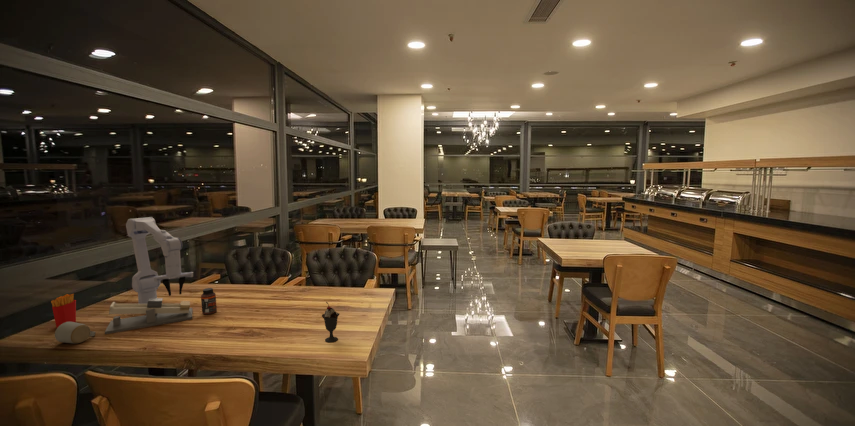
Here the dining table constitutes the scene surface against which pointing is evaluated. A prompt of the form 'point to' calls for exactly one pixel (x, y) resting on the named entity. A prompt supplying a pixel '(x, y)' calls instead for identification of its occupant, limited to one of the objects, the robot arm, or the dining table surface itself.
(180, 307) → the beam
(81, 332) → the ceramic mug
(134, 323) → the stand
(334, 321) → the sundae
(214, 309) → the supplement bottle
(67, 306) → the french fries
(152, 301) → the rider
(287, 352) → the dining table surface
